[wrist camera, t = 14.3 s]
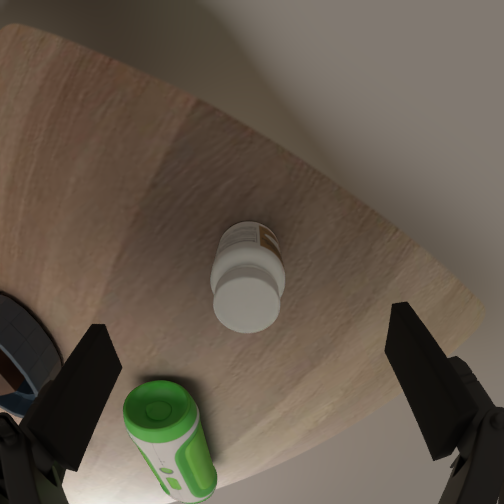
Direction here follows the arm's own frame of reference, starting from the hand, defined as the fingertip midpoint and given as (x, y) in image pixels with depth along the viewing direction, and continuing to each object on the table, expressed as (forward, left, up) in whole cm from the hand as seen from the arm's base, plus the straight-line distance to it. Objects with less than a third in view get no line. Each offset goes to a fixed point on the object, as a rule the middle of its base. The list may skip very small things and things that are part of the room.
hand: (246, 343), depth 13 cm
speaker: (+21, -10, -11) cm, 25 cm away
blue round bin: (+9, -28, -10) cm, 31 cm away
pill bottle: (0, 0, -11) cm, 11 cm away
